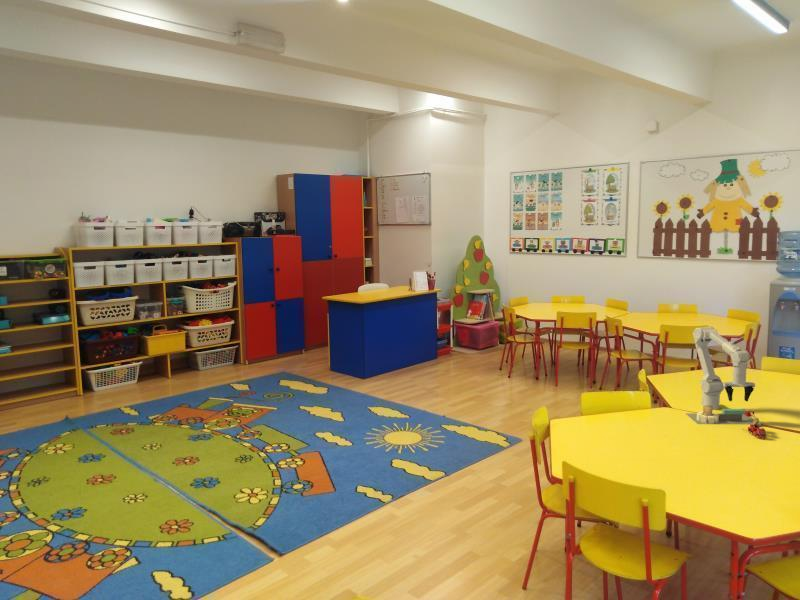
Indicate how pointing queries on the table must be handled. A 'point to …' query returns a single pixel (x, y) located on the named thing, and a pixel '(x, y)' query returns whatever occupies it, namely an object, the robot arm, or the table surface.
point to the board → (744, 420)
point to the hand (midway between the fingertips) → (738, 400)
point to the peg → (707, 410)
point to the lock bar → (734, 411)
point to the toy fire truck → (755, 430)
